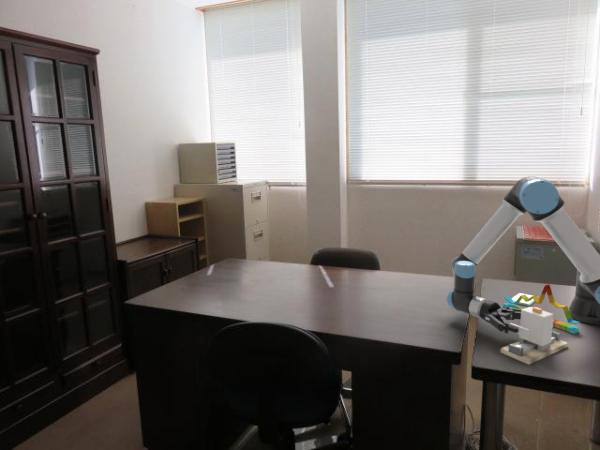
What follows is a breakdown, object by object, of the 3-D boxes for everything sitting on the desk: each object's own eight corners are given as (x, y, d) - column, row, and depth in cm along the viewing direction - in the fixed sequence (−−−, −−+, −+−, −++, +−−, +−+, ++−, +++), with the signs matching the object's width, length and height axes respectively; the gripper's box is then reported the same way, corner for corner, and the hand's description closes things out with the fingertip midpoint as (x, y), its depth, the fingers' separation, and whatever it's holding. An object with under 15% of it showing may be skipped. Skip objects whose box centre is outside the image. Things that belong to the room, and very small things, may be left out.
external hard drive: (508, 303, 197) (519, 295, 206) (528, 307, 191) (538, 299, 200) (509, 299, 197) (519, 292, 205) (529, 304, 191) (538, 296, 200)
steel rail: (547, 335, 160) (547, 329, 159) (559, 339, 156) (560, 333, 156) (508, 351, 149) (508, 344, 148) (520, 356, 145) (521, 349, 145)
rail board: (539, 336, 163) (539, 332, 162) (567, 346, 154) (567, 342, 154) (500, 352, 151) (500, 348, 151) (528, 364, 143) (529, 360, 143)
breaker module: (527, 339, 157) (530, 303, 155) (550, 348, 150) (553, 310, 148) (518, 343, 155) (521, 306, 152) (541, 351, 148) (544, 313, 145)
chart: (502, 308, 191) (504, 274, 188) (507, 306, 192) (510, 272, 189) (573, 334, 164) (576, 295, 161) (578, 333, 165) (582, 293, 163)
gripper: (505, 311, 175) (561, 330, 157) (462, 326, 162) (517, 349, 144) (506, 293, 173) (562, 309, 155) (463, 306, 161) (518, 326, 143)
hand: (541, 328), depth 150 cm, fingers open, 13 cm apart
